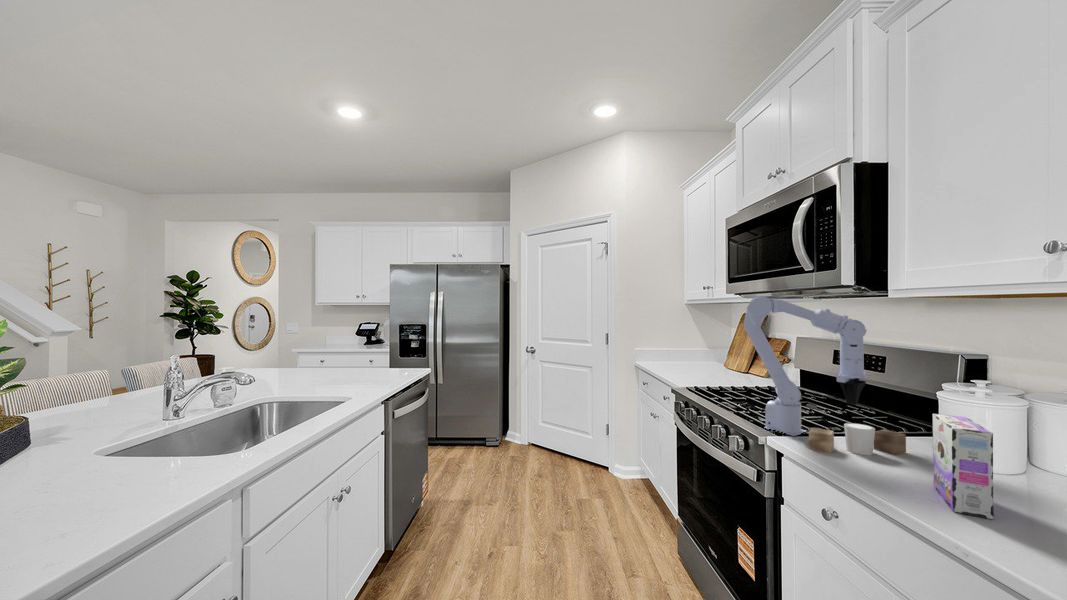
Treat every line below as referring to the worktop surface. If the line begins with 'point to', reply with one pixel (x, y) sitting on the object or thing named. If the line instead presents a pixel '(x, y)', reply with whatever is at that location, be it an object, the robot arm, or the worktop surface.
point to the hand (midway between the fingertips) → (852, 404)
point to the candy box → (963, 465)
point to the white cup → (859, 438)
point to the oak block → (821, 440)
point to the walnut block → (890, 442)
